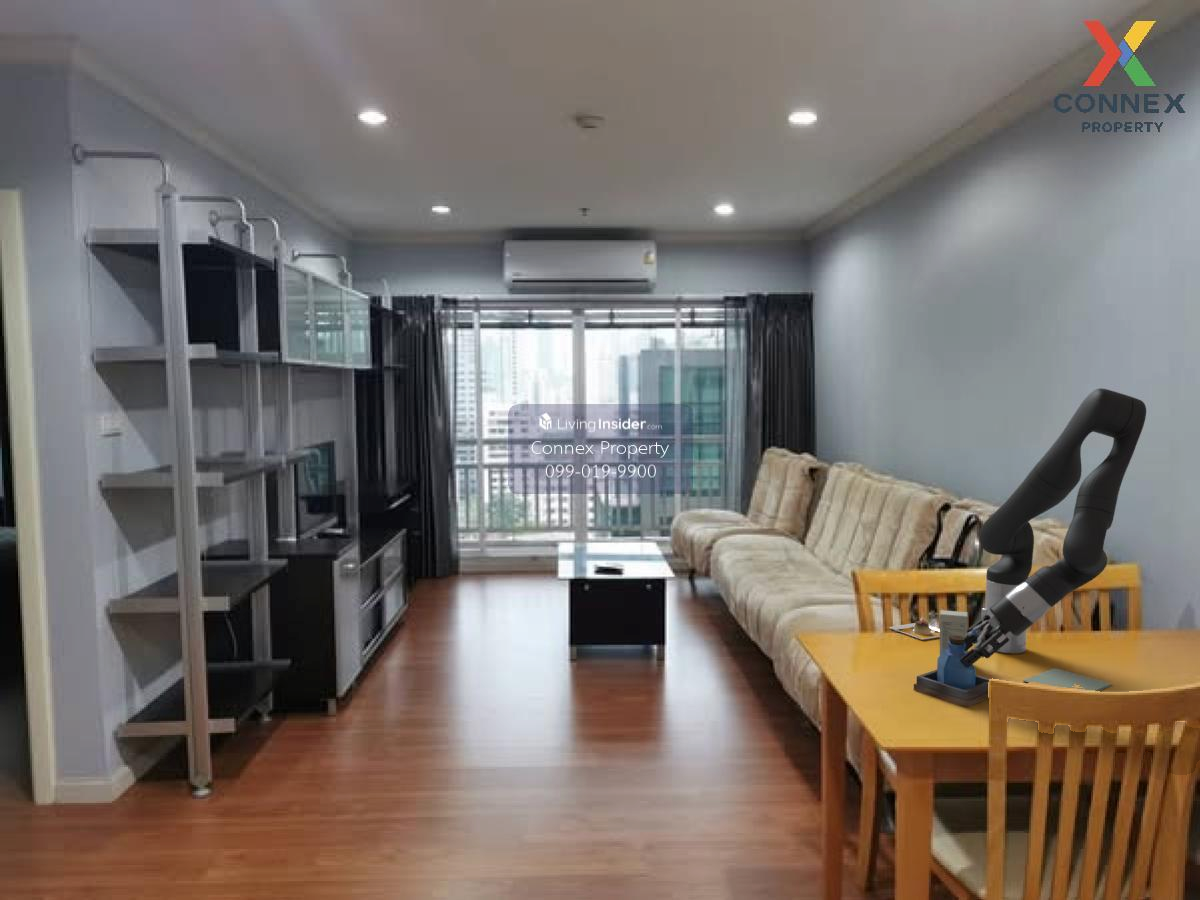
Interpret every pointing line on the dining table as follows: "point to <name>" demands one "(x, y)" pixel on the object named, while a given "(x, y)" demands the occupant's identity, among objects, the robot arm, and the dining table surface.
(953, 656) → the perfume bottle
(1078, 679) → the mat
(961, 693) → the shallow navy tray
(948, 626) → the skincare box
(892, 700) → the dining table surface
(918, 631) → the dessert
